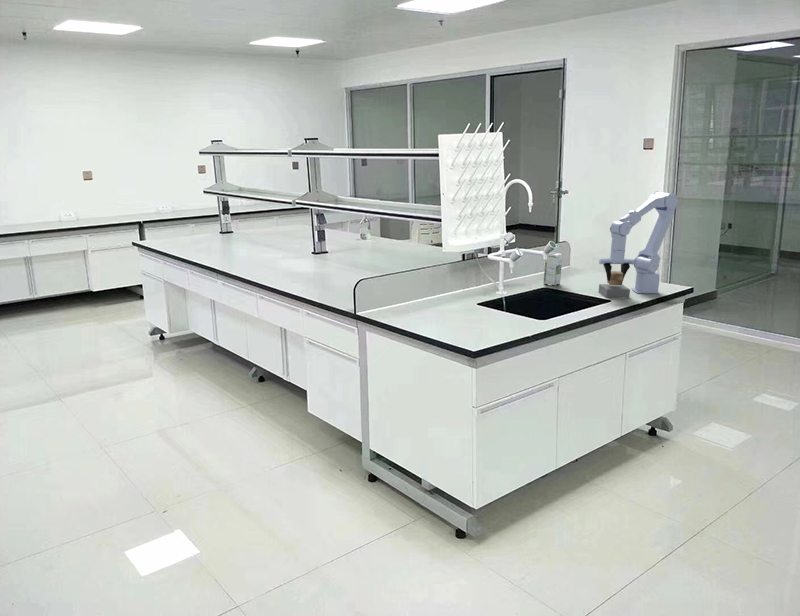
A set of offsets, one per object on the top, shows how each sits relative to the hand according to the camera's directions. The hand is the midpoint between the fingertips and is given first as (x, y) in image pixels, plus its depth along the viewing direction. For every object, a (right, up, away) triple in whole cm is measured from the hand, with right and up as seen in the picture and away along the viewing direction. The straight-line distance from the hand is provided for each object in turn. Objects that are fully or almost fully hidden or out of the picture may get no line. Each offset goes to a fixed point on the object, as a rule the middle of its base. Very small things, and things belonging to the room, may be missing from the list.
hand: (615, 280), depth 278 cm
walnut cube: (0, -1, 0) cm, 2 cm away
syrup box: (-22, -1, +21) cm, 31 cm away
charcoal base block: (0, -7, +2) cm, 7 cm away
